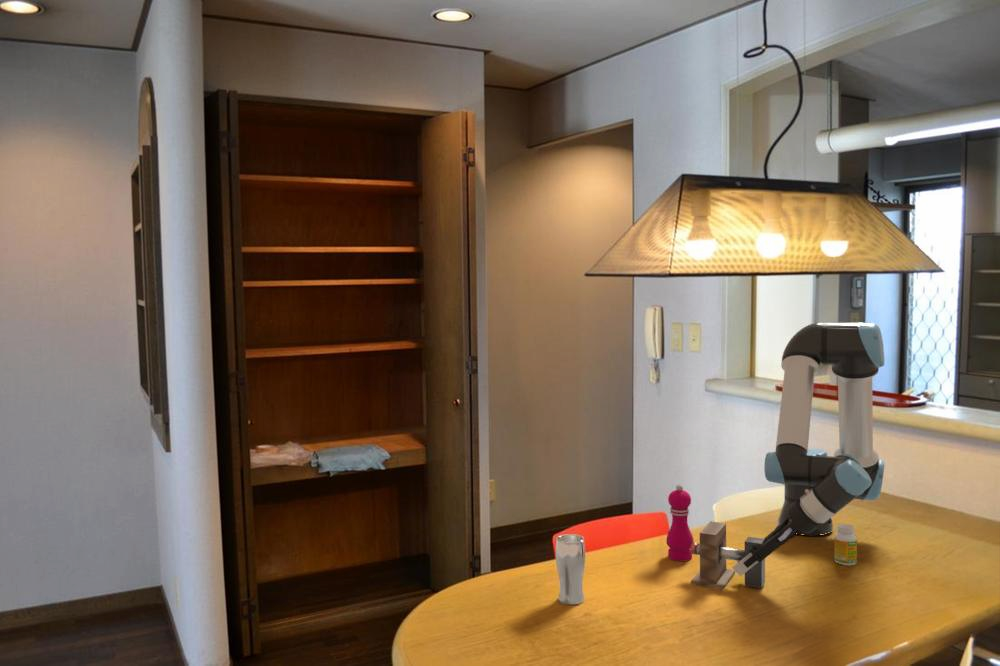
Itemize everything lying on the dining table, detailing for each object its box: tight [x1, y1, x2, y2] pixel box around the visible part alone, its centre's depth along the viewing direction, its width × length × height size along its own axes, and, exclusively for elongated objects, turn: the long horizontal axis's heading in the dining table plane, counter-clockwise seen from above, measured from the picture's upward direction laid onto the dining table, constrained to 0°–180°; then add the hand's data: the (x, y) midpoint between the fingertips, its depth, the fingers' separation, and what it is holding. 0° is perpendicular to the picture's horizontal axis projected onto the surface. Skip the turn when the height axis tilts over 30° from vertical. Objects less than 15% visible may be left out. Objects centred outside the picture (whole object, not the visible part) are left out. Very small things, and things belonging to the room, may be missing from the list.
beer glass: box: [555, 533, 586, 606], centre depth 186 cm, size 7×7×15 cm
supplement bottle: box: [833, 523, 858, 566], centre depth 205 cm, size 5×5×10 cm
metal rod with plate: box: [690, 536, 766, 589], centre depth 195 cm, size 18×4×11 cm, turn 60°
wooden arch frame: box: [690, 520, 736, 591], centre depth 196 cm, size 8×12×13 cm, turn 150°
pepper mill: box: [665, 484, 695, 562], centre depth 212 cm, size 7×7×20 cm
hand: (739, 568), depth 193 cm, fingers closed on metal rod with plate, 4 cm apart
